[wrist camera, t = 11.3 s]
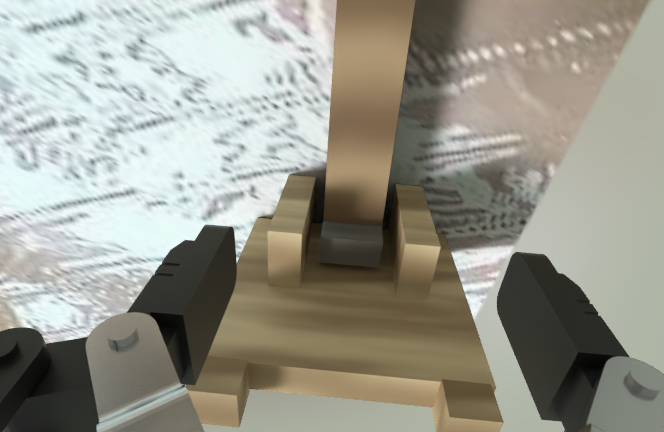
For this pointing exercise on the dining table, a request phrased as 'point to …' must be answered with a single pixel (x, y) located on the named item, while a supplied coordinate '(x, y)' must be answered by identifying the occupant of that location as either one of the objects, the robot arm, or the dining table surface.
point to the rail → (363, 126)
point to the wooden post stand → (349, 321)
